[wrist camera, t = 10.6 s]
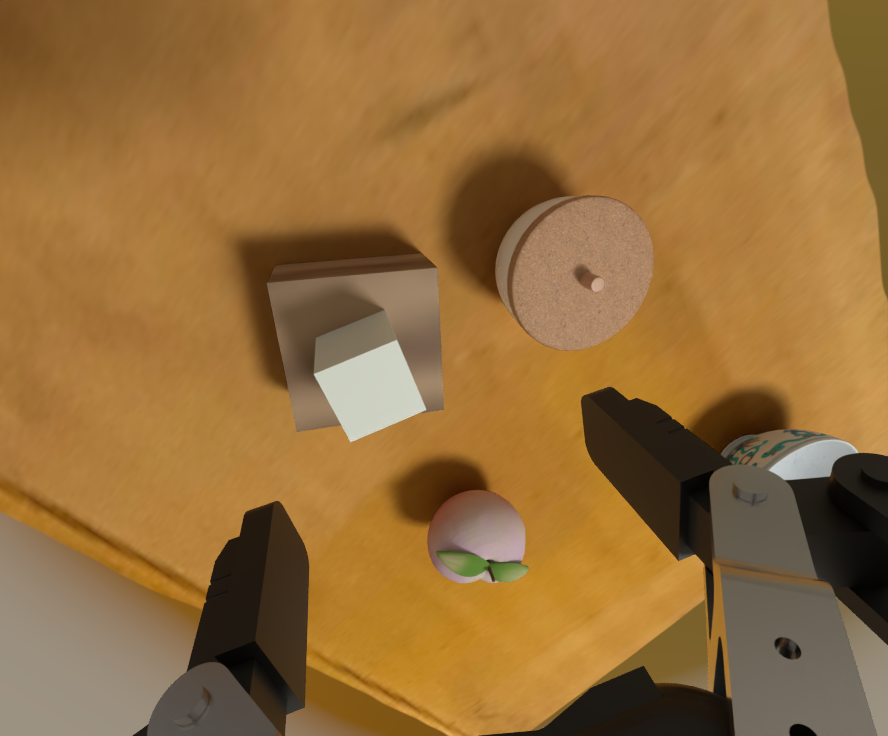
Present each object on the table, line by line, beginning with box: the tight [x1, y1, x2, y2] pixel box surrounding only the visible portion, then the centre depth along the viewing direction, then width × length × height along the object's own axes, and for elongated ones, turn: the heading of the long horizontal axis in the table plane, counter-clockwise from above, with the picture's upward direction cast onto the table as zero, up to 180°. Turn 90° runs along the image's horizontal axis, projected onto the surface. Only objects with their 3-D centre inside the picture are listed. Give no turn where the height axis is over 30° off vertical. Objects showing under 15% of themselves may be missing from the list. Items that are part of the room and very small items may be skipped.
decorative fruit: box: [427, 490, 529, 583], centre depth 42 cm, size 9×8×10 cm
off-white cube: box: [314, 310, 426, 442], centre depth 29 cm, size 5×5×6 cm
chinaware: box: [720, 429, 858, 480], centre depth 51 cm, size 15×15×8 cm
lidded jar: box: [495, 195, 654, 351], centre depth 34 cm, size 11×11×9 cm
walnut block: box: [267, 253, 444, 432], centre depth 35 cm, size 11×11×6 cm
